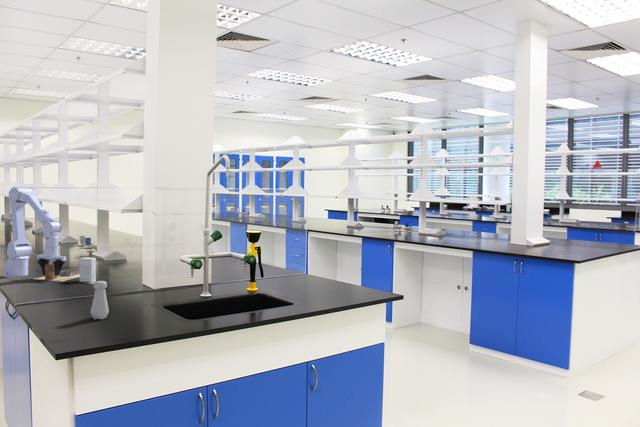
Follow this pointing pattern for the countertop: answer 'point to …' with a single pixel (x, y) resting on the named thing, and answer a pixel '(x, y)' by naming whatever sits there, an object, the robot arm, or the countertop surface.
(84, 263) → the skincare box
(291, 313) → the countertop surface
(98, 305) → the salt shaker
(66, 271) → the clip board
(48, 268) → the tan upright block
